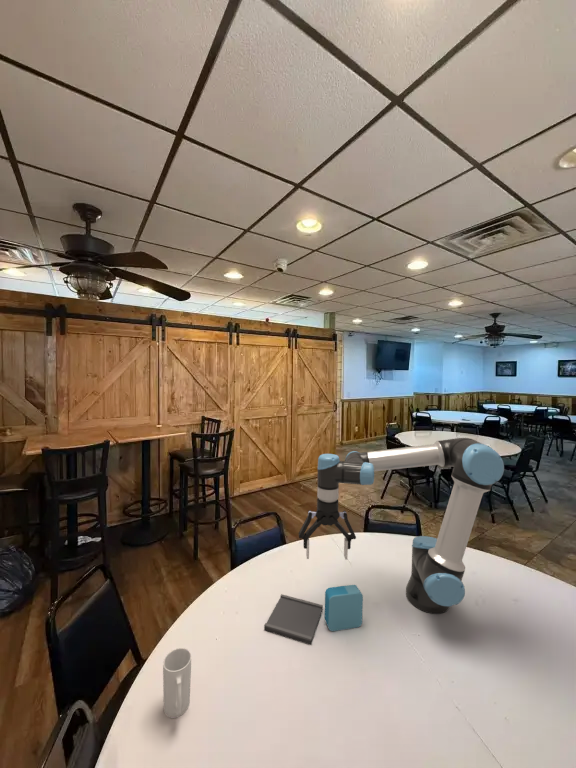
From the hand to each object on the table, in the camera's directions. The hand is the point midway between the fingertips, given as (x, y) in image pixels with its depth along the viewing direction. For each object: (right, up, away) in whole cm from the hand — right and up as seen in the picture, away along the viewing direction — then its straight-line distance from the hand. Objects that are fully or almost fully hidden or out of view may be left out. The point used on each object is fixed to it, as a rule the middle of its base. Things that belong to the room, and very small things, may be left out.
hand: (326, 557), depth 114 cm
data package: (+5, -20, -5) cm, 21 cm away
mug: (-41, -20, -35) cm, 58 cm away
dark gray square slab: (-11, -20, -4) cm, 23 cm away
